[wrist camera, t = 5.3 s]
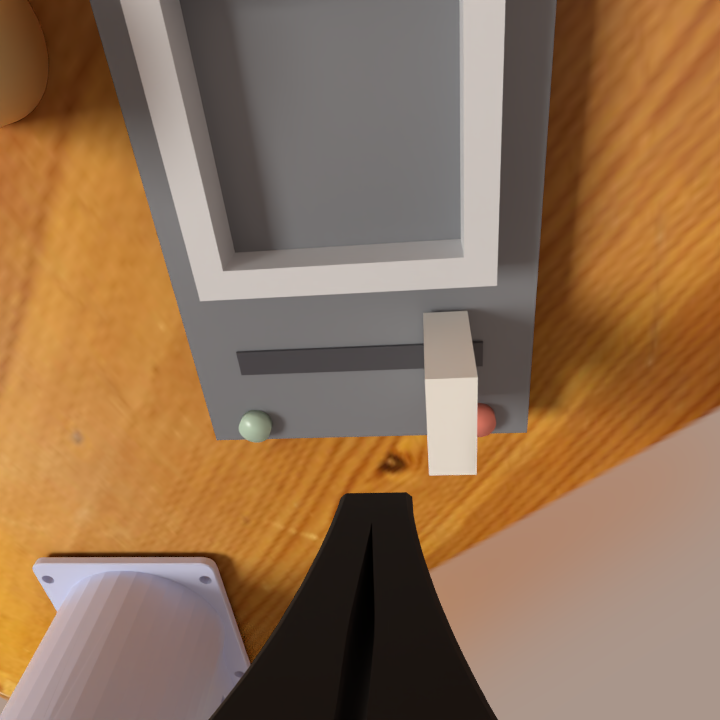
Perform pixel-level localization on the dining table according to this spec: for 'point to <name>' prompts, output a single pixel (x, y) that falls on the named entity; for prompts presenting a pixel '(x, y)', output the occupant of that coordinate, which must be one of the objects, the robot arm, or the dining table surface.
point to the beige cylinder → (20, 61)
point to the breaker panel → (341, 197)
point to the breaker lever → (450, 393)
